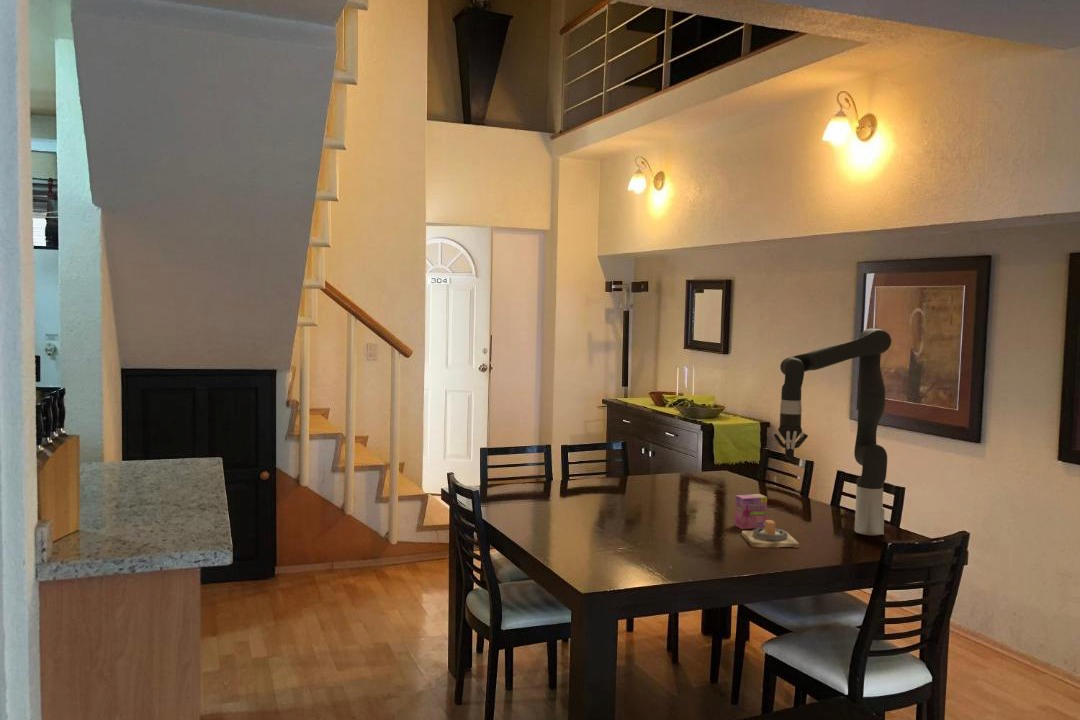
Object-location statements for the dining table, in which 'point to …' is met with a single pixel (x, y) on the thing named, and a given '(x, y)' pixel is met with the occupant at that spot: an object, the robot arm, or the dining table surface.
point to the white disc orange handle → (770, 528)
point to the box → (750, 511)
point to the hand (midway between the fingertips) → (789, 458)
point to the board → (762, 543)
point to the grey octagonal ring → (768, 537)
